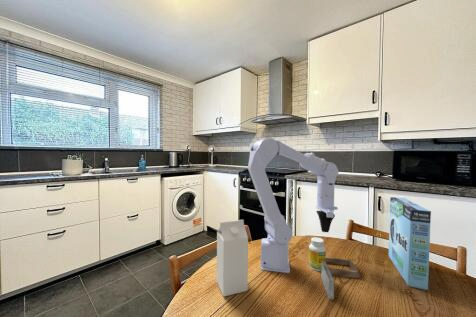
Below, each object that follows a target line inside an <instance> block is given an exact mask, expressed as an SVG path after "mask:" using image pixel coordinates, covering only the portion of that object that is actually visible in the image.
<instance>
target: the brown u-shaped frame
mask: <svg viewBox="0 0 476 317" xmlns="http://www.w3.org/2000/svg"><path fill="white" fill-rule="evenodd" d="M326 264H331V265H341V266H349V269H343V268H342V269H341V268H334V267H333V268H332V267H328V269H329V271H330V273H331V275H332V276H335V277H343V278H353V279H358V280H359V279H360V278H361V273H360V271H359V269H358V268H357V266H356V265H355V263H354V262H353V261H352V259H351V258H350V259H349V258H341V257H340V258H339V257H331V256H326Z"/></svg>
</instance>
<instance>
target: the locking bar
mask: <svg viewBox="0 0 476 317" xmlns="http://www.w3.org/2000/svg"><path fill="white" fill-rule="evenodd" d="M327 264H328V263H326V262H321V271H320V272H321V274H320V278H321V280H322V284H323V287H324V289H325V292H326V295H327V298H328V300H332V301H333V300H335V298H334V297H335V280H334V278H333V275H331V273H330V271H329V269H328V268H329V266H328V265H327Z"/></svg>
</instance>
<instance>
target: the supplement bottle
mask: <svg viewBox="0 0 476 317" xmlns="http://www.w3.org/2000/svg"><path fill="white" fill-rule="evenodd" d="M310 240H311V241H310V244H309V246H308V266H309V267H310V268H309V269H311V270H313V271H317V272H321V262H326V257H327V256H326V255H327V250H326V246H325V245H324V244H325V242H324V239H323V238H321V237H311V239H310Z"/></svg>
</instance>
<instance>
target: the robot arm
mask: <svg viewBox="0 0 476 317" xmlns="http://www.w3.org/2000/svg"><path fill="white" fill-rule="evenodd" d="M315 154H316V153H314V152H310V153H309V152H306V153H302V152H300V151H298V150H296V149H295V148H293V147H291V146H290V145H287V144H285V143H284V142H282V141H280V140H276V139H275V138H272V137H267V138H264V139H257V140H256V141H254V142H253V143H252V145H251V147H250V148H249V159H248V163H247V164H248V165H247V169H248V172H249V176H250V178H251V181H252V183H253V187H254V189H255V191H256V195H257V197H258V199H259V202H260V206H261V207H262V210H263V214H264V217H263V219H264V230H265V231H266V233H267V238H266V237H265V238H261V242H260V243H261V244H260V258H259V259H260V270H261V271H262V270H263V271H270V272H278V273H284V274H290V273H291V269H290V267H291V266H290V260H289V244H290V241H291V240H292V238H293V229H292V227H291V226H289V225H288V223H287V221H286V219H285V217H284V216H283V214H281V211H280V209H279V206H278V203H277V201H276V197H275V194H274V192H273V190H272V186H271V183H270V181H269V177H268V175H267V172H266V167H267V166H268V164H269V163H270V162H271V160H273V159H274V157H276V156H283V157H284V158H288V159H289V160H292V161H295V162H297V163H299V165H300V167H301V168H303V169H304V170H306V171H308V172H311V173H313V174H315V176H317V179H316V180H317V183H316V184H317V188H316V190H317V191H316V201H317V202H316V209H317V210H316V213H317V216H318V220H319V224H320V230H321V232H322V233H329V232H330V229H331V224H332V222H333V220H334V219H335V216H336V214H334V212H335V210H338V207H337V206H335V182H336V181H337V180H336V179H337V176H338V174H339V172H340V171H339V169H338V166H337V164H335V163H333V162H332V161H331V162H330V161H326V159H325V158H323V157H322V158H320V157H319V156H316V155H315Z"/></svg>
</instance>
